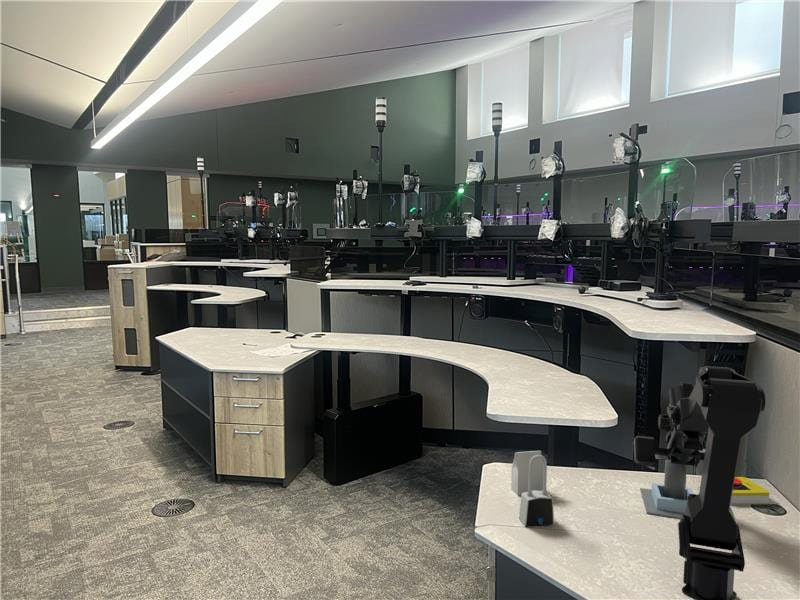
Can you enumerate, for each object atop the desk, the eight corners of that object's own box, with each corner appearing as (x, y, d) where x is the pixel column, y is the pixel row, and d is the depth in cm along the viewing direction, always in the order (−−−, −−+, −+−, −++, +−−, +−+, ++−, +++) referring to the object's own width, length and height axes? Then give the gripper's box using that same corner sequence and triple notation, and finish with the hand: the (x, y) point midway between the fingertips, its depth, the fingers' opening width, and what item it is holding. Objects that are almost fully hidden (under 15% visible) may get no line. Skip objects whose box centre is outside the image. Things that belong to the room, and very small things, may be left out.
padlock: (546, 515, 115) (548, 450, 114) (555, 525, 111) (557, 457, 110) (518, 518, 114) (519, 452, 113) (525, 528, 110) (527, 459, 109)
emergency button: (695, 472, 130) (753, 471, 131) (694, 489, 131) (752, 488, 131) (718, 488, 121) (781, 488, 122) (717, 506, 121) (780, 506, 122)
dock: (712, 523, 112) (713, 510, 112) (646, 513, 117) (647, 500, 116) (699, 497, 125) (699, 485, 125) (640, 489, 129) (640, 477, 129)
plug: (689, 507, 119) (691, 454, 118) (671, 509, 118) (674, 455, 117) (676, 498, 123) (678, 447, 122) (659, 500, 122) (661, 448, 121)
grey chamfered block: (543, 493, 127) (544, 453, 126) (517, 495, 125) (518, 455, 124) (536, 486, 130) (537, 448, 129) (511, 489, 129) (512, 450, 128)
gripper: (730, 410, 112) (715, 443, 123) (636, 402, 118) (629, 434, 129) (739, 459, 105) (721, 488, 117) (639, 447, 111) (631, 477, 122)
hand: (674, 470), depth 121 cm, fingers open, 9 cm apart
